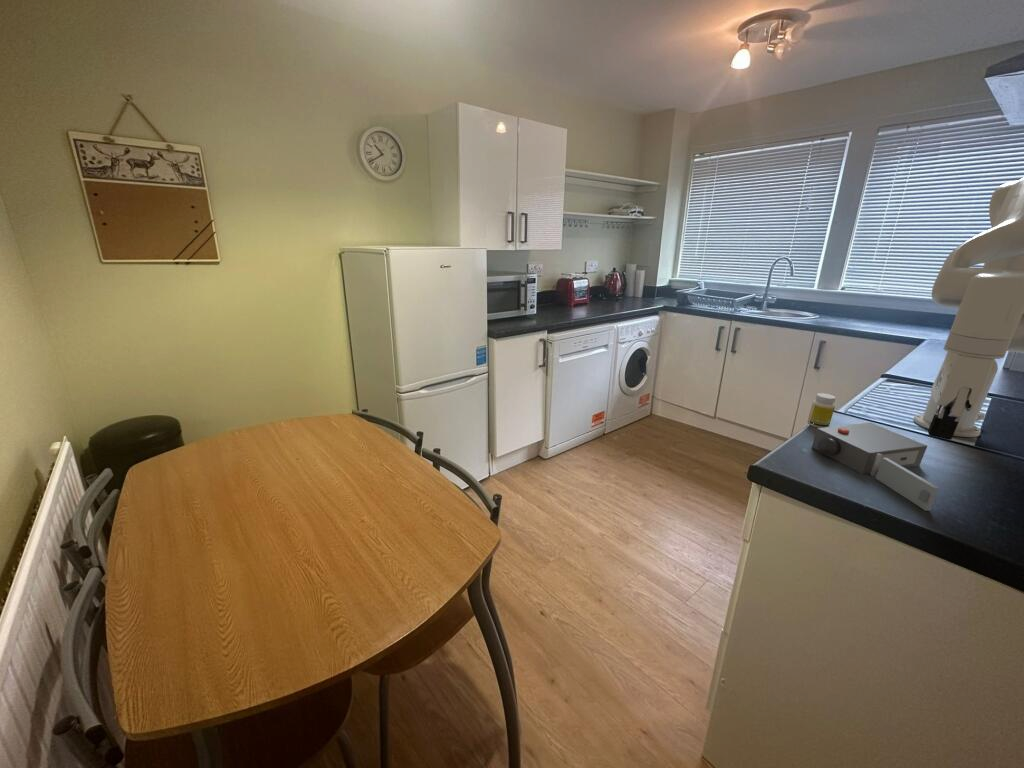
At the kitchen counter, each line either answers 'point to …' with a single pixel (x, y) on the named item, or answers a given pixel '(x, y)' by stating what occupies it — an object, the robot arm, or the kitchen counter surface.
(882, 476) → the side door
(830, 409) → the supplement bottle
